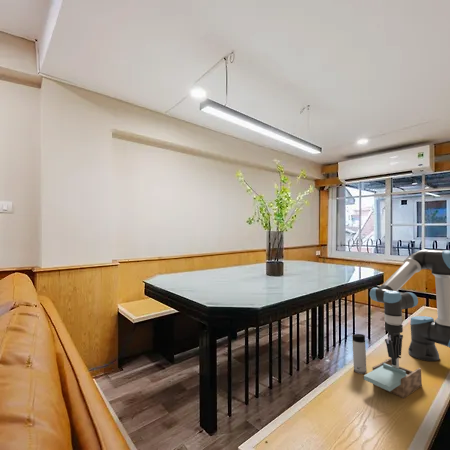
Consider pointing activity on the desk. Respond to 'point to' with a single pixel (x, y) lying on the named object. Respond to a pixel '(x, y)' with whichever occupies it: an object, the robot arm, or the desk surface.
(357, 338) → the travel mug
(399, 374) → the cover plate
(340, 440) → the desk surface
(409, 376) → the box
